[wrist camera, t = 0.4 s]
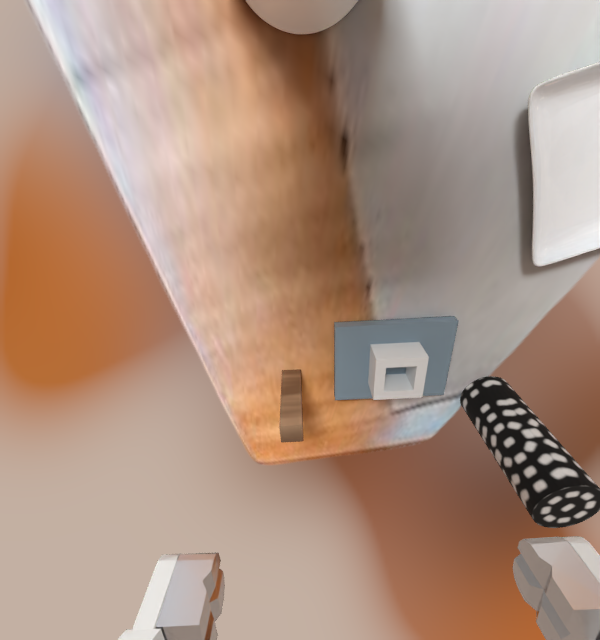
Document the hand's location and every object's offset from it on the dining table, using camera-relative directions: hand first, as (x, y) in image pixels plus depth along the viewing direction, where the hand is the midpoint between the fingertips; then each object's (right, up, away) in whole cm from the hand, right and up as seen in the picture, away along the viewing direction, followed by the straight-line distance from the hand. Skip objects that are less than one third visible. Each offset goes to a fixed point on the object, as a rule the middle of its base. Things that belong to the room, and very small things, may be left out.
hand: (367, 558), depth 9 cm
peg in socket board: (+13, 0, +45) cm, 46 cm away
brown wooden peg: (-3, -3, +46) cm, 47 cm away
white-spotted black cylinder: (+30, -6, +49) cm, 58 cm away
